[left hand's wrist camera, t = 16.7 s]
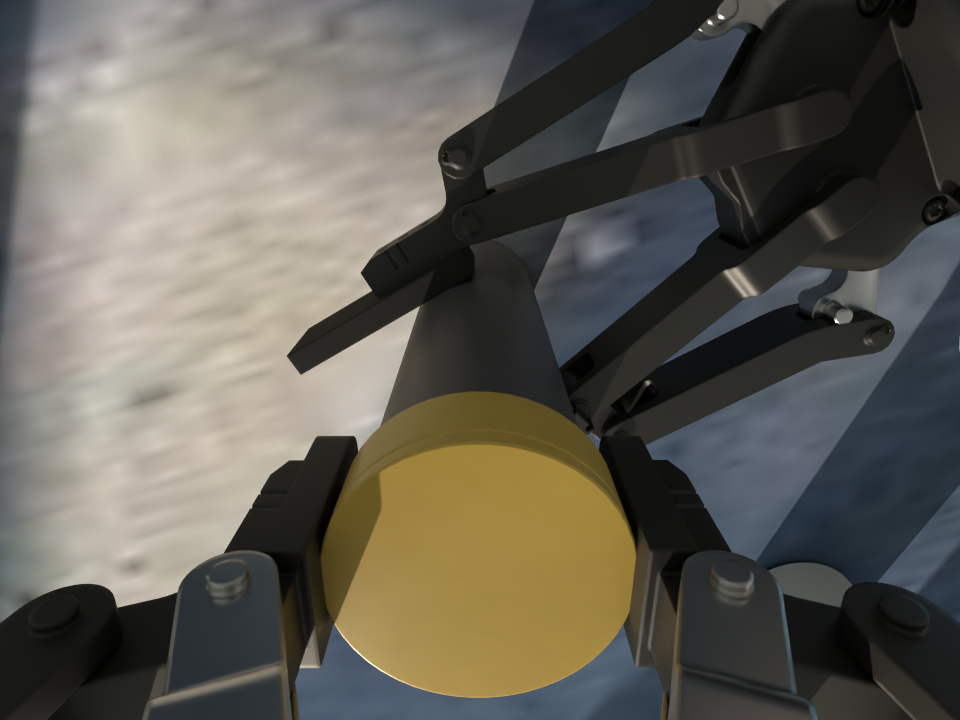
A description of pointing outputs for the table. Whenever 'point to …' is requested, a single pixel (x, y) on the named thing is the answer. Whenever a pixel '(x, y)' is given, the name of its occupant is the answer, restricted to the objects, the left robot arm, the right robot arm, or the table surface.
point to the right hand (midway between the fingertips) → (350, 408)
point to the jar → (481, 340)
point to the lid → (478, 548)
